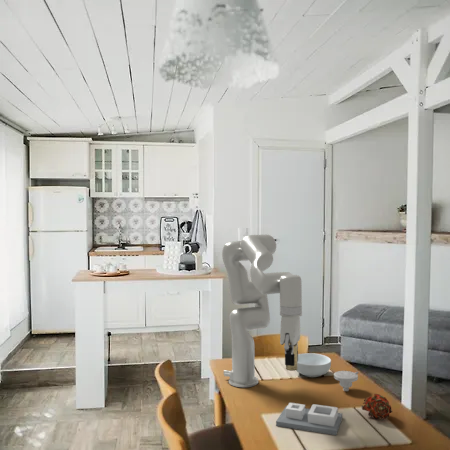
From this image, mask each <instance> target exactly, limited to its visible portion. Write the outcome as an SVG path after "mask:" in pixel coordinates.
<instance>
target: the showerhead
mask: <svg viewBox="0 0 450 450" xmlns="http://www.w3.org/2000/svg"><path fill="white" fill-rule="evenodd" d="M333 378H334V379H335V381H339V386H340V387H342V390H343V391H344V392H349V390H350V389H349V388H351V387H353V383H354V382H357V381H358V379H359V372H358V371H355V372H354V371H349V370H348V371H347V370H338V371H335V372H334V373H333Z"/></svg>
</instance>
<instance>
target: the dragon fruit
mask: <svg viewBox="0 0 450 450" xmlns="http://www.w3.org/2000/svg"><path fill="white" fill-rule="evenodd" d="M363 401H364V402H363V403H362V404H363V405H361V410H362V411H366V412H368V416H369V417H370V418H375V419H376V420H382V421H383V420H384V419H388V418H390V414H391V413H393V410H392V406H391V404H390V402H389V400H388V399H387V398H386V397H385V396H383V395H382V394H378V393H374V394H373V396H368V397H366V398H364V400H363Z"/></svg>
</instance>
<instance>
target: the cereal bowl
mask: <svg viewBox="0 0 450 450" xmlns="http://www.w3.org/2000/svg"><path fill="white" fill-rule="evenodd" d="M331 365H332V359H331V358H330V357H329V356H327V355H324V354H320V353H314V352H313V353H312V352H309V353H308V352H307V353H305V352H303V353H298V362H297V370H295V371H296V372H297V373H298V374H301V375H303V376H305V377H308V378H317V377H320V376H323V375H325V374H327V373H328V372H329V371H330V369H331V367H332V366H331Z"/></svg>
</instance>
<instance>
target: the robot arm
mask: <svg viewBox="0 0 450 450" xmlns="http://www.w3.org/2000/svg"><path fill="white" fill-rule="evenodd" d="M276 250H277V242H276V240H275V238H274V237H273V236H272V235H271V234H251V235H250V234H249V235H248V234H247V235H246V236H244V237H243V238H242V239H241V240H235V241H230V242H227V243H225V244H224V245H223V246H222V252H221V253H222V254H221V255H222V261H223V265H224V267H225V269H226V273H227V279H228V289H229V296H230V300H231V302H232V304H233V305H235V306H237V305H240V306H242V305H254V306H250V307H239V308H238V307H237V308H235V309H233V310H232V311H231V312H230V313H229V317H228V319H229V320H228V321H229V326H230V331H231V332H230V333H231V334H230V335H231V368H232V369H231V370H226V369H223V376H224V377H229V378H228V385H229V384H230V385H231V386H232V387H237V388H251V387H255V386H256V385H258V384H259V379H258V377H257V376H255V371H256V370H255V366H256V365H255V341H254V337H253V335H251V334H250V332H249V331H255V330H261V329H266V328H268V327H269V325H270V323H271V322H270V321H271V316H270V307H269V299H268V295H273V294H279V315H280V316H281V317H280V319H281V320H280V330H279V331H280V332H279V333H280V334H279V335H280V338H279V339H280V340H279V344H280V345H281V346H283V345H284V346H283V348H284V365H285V366H286V365H288V366H294V365H295V358H294V354H293V352H294V345H297V362H298V354H299V351H298V350H299V346H298V345H299V341H300V339H301V319H300V317H302V316H303V304H302V303H303V301H302V300H303V299H302V298H303V297H302V293H303V292H302V291H303V290H302V278H301V276H300V275H297V274H293V273H291V272H289V271H283V272H282V271H279V272H278V271H277V272H265V271H266V270H267V269H269V268H270V267H271V265H273V261H274V254H275V252H276ZM244 261H245V262H246V261H249V262H250V264H251V266H250V270H249V275H250V281H249V276H248V270H247V268H246V267H245V266H244V265H243V263H242V262H244ZM289 344H291V345H289ZM289 347H291V348H289Z"/></svg>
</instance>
